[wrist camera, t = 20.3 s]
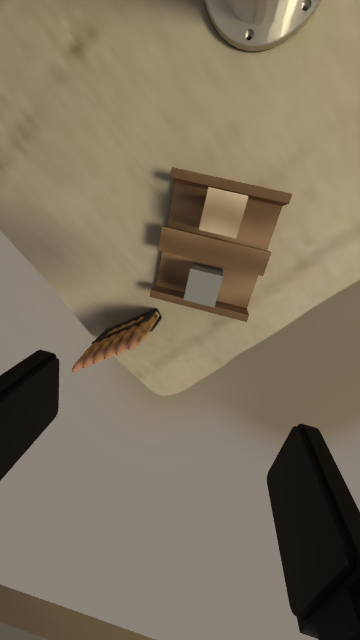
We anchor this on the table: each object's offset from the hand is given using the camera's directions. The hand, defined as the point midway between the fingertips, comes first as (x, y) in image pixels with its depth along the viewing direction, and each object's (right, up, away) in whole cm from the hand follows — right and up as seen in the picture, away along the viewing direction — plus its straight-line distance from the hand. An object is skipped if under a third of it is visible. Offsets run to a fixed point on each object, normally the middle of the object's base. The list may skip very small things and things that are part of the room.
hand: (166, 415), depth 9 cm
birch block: (+6, +17, +22) cm, 29 cm away
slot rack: (+5, +14, +24) cm, 29 cm away
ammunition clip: (-7, +3, +31) cm, 32 cm away
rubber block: (+4, +10, +25) cm, 27 cm away
